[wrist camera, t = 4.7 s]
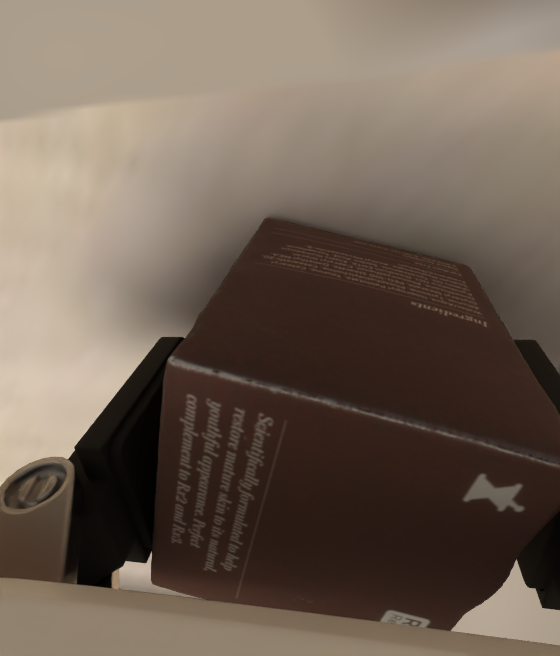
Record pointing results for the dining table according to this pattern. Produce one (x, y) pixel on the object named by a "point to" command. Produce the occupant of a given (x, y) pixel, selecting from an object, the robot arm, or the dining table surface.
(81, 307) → the dining table surface
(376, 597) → the box
